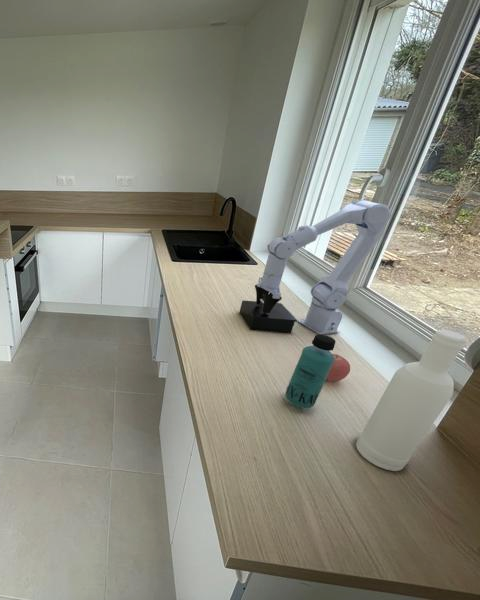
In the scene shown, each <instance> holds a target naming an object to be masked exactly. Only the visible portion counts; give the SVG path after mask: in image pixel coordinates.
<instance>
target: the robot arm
mask: <svg viewBox="0 0 480 600" xmlns="http://www.w3.org/2000/svg"><path fill="white" fill-rule="evenodd" d="M391 217H392V213H391V210H390V208H389V206H388V205H386V204H384V203H377V202H372V201H368V200H365V199H357V200H355V201H353V202H351V203H349V204H346V205H345V206H343V208H342V209H340V210H338V211H336V212H335V213H333V214H331V215H329V216H327V217H326V218H324V219H322V220H321V221H319V222H317V223H315V224H313V225H307V224H306V225H300V226H298V228H297V229H296V230H293V231H291V232H290V233H288V234H284V235H283V236H282V237H276V238H273V239H272V240H271V241H270V243H269V244H267V251H268V255H267V258H266V259H267V260H266V262H265V265H264V270H263V273H262V277H259V278H258V281H257V283H256V284H255V285H254V289H255V293H256V294H255V295H256V296H255V297H256V298H255V300H256V304H257V305H259V304H260V300H259V299H260V298H261V297H263V298H264V304H262V305H263V313H270V311H271V310H272V308H273V307H274V306H275V304H276V303H280V302H281V300H282V299H283V298H282V296H281V295H282V293H281V287H280V285H281V282H282V278H283V276H284V272H285V268H286V265H287V263H288V259H289V258H290V257H292V256H293V254H294V253H295V252H296V251H298V250H299V249H301V248H303V247H305V246H307V245H309V244H312V243H314V242H315V241H317V238H318V237H319V236H320V235H322V234H325V233H326V232H330V231H331V230H334V229H336V228H338V227H341V226H343V225H345V224H352V225H353V224H354V225H355V227H356V229H357V231H358V234H357V235H356V237H355V238H354V239H353V241H352V242H351V243H350V245H349V247H348V248H347V250H346V251H345V253H344V254H343V255H342V257H341V258H340V259H339V261H338V262H337V263H336V265H335V267H334V268H333V270H332V271H331V272H330V274H329V275H327V276H324V277H321V278H320V280H319V281H318V282H317V283H315V284H314V285H313V286H312V287H311V289H310V295H311V296H312V298H311V302H310V305H309V308H308V311H307V312H306V316H305V318H304V319H299V320H297V322H298V323H299V324H301V325H303V326H304V327H306V328H307V329H309V330H311V331H313V332H314V333H316V334H323V335H327V334H335V333H338V332H339V331H338V328H339V326H340V324H341V321H342V319H343V313H342V312H341V311H340V310H338V308H340V307H341V306H343V304H344V303H345V302H346V297H347V295H348V294H349V286H348V283H349V281H350V280H351V279H352V277H353V276H354V275H355V274H356V272H357V270H358V269H359V268H360V266H361V265H362V264H363V262H365V260H366V259H367V257H368V256H369V255H370V253H371V252H372V251H373V249H374V247H375V246H376V245H377V243H378V242H379V241H380V240H381V238H382V237H383V235H384V234H385V230H386V225H387V223H388V221H389V220H390V219H391Z"/></svg>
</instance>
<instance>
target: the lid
mask: <svg viewBox="0 0 480 600" xmlns="http://www.w3.org/2000/svg"><path fill="white" fill-rule="evenodd" d="M259 300H260V304H259V305H257V304H256V301H255V300H241V304H242V303H243V304H244V305H245V307H246V308H247V310H248V311H249V312H250V314H251V315H252V317H253V318H254V319H266V320H279V321H291V322H295V323H297V322H298V319H297V318H296V317H295V316H294V315H293V314H292V313H291V312H290V311H289V310H288V309H287V307H285V306H284V304H283V303H281V302H277V303H276V304H275V306H274V307H273V308H272V310H271V311H270V313H263V305H262V304H264V298H263V297H261V298H260V299H259Z"/></svg>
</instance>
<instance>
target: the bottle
mask: <svg viewBox="0 0 480 600" xmlns="http://www.w3.org/2000/svg"><path fill="white" fill-rule="evenodd" d="M467 341H468V338H467V337H466V336H464V335H463V334H462V333H460V332H457V331H454V330H449V329H438V330H437V331H435V333H434V334H433V335H432V336H431V340H430V342H429V344H428V345H427V347H426V349H425V351H424V352H423V354H422V356H421V358H420V359H419V361H413V362H407V363H406V364H404V365H402V366H401V367H399V368H398V369H397V370H396V371H395V372H394V374H393V375H392V377H391V379H390V380H389V382H388V385H387V386H386V388H385V390H384V391H383V393H382V395H381V397H380V399H379V401H378V403H377V404H376V406H375V408H374V410H373V411H372V414H371V415H370V417H369V419H368V421H367V423H366V424H365V426H364V428H363V430H362V431H361V432H360V433H359V435H358V438H357V440H356V443H355V447H356V449H357V451H358V452H359V454H360V455H361V456H362V457H363V458H365V460H367V462H369V463H371V464H373V465H374V466H376V467H379V468H381V469H384V470H386V471H392V472H398V471H402V470H403V469H404V468H405V466H406V465H407V464H408V463H409V462H410V460H411V457H412V456H413V454H414V453H415V451H416V450H417V448H418V447H419V445H420V444H421V443H422V441H423V440H424V439H425V436H426V435H427V433H428V432H429V430H430V429H431V427H432V426H433V424H434V423H435V422H436V420H437V419H438V417H439V416H440V415H441V413H442V411H443V410H444V409H445V407H446V405H447V404H448V402H449V401H450V400H451V398H452V396H453V395H454V387H455V383H454V379H453V378H452V377H451V375H450V374H449V372H448V371H449V369H450V368H451V366H452V364H453V363H454V361H455V360H456V358H457V357H458V355H459V353H460V352H461V350H464V348H465V347H466V343H467Z"/></svg>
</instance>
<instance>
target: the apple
mask: <svg viewBox="0 0 480 600" xmlns="http://www.w3.org/2000/svg"><path fill="white" fill-rule="evenodd" d="M332 354H333V356H334V358H335V361H334V362H333V364H332V367H331V369H330V371H329V373H328V375H327V378H326V380H325V381H330V382H340V381H342V380H344V379H346V378H347V377H348V375H349V374H350V372H351V364H350V362H349V360H347V359H346V358H345V357H343V356H342V355H340V354H336V353H332Z"/></svg>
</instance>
